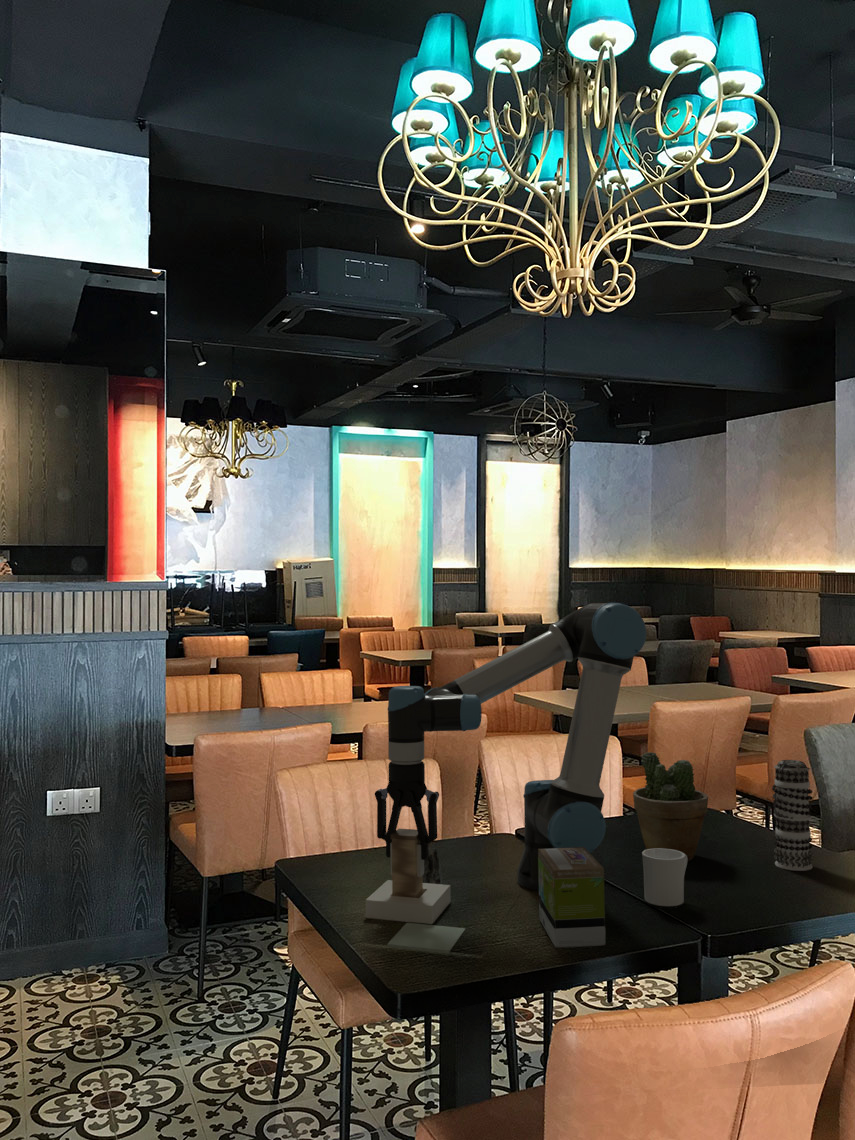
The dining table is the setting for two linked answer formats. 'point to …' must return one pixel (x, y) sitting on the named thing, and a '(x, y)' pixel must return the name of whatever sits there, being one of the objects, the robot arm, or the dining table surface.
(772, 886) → the dining table surface
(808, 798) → the decorative candle
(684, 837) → the potted plant
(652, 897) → the mug
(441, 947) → the mat
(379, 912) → the white square platform
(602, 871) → the tea box
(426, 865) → the stone
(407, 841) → the brown tall block
